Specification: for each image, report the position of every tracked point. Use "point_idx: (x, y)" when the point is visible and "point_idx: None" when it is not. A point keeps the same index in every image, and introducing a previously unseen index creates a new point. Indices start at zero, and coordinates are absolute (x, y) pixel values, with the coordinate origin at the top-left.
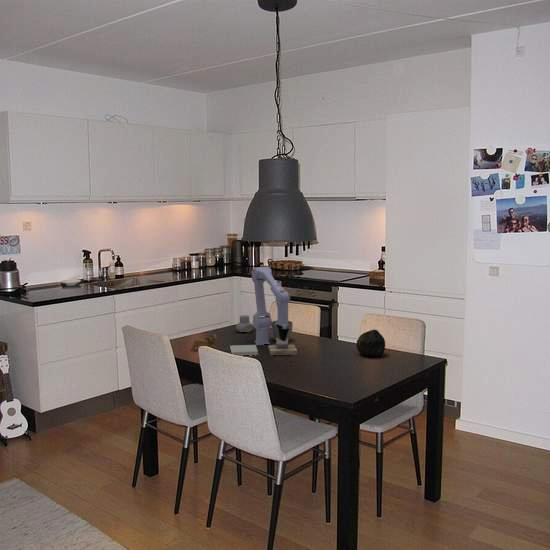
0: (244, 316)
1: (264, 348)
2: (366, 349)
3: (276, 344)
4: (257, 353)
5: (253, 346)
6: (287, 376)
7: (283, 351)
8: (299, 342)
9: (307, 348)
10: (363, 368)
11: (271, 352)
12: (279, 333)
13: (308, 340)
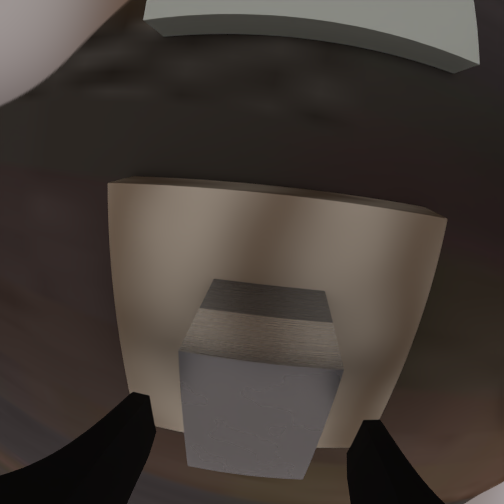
0: None
1: (467, 176)
2: None
3: (273, 307)
4: (154, 23)
5: (409, 10)
6: None
7: (118, 317)
8: (472, 446)
9: (325, 475)
10: (16, 464)
11: (114, 183)
12: (380, 469)
13: (472, 474)
